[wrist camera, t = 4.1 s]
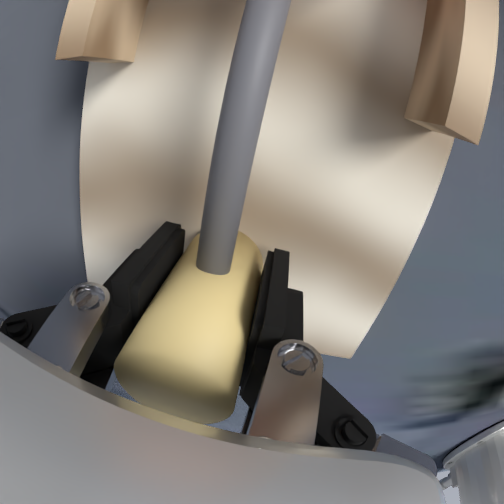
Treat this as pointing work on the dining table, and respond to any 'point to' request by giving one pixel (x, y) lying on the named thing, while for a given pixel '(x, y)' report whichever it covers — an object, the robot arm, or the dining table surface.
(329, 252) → the shelf lane
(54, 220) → the dining table surface
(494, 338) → the dining table surface
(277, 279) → the robot arm
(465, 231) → the dining table surface
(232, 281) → the toy mallet
